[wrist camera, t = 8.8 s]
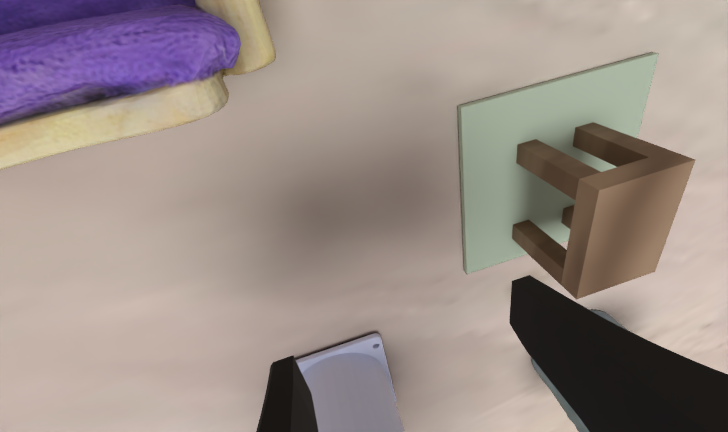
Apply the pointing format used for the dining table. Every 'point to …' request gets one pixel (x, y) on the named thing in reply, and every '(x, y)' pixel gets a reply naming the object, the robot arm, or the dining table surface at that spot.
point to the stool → (605, 208)
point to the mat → (549, 125)
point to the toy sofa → (117, 68)
